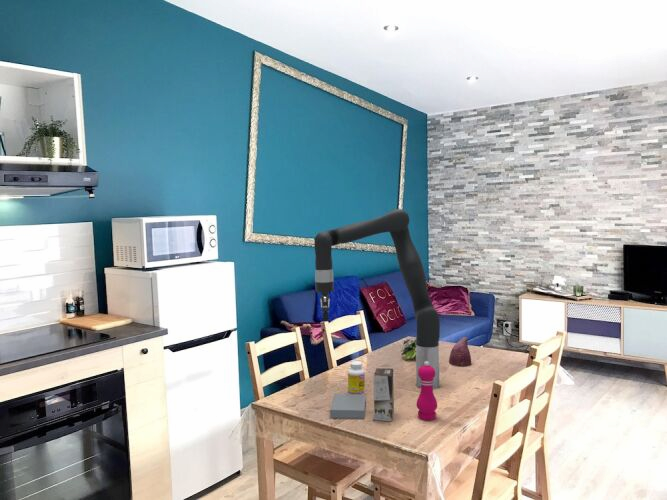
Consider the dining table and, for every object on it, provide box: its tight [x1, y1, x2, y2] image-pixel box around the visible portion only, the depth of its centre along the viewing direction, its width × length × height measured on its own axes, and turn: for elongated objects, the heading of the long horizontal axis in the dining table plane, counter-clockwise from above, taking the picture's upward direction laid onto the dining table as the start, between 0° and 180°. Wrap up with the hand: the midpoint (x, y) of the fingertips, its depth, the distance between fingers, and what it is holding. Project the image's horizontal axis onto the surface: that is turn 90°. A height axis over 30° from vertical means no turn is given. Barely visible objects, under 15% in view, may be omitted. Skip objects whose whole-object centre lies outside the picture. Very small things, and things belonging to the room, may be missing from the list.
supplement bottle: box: [347, 360, 366, 394], centre depth 202 cm, size 7×7×13 cm
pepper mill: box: [416, 361, 438, 421], centre depth 178 cm, size 7×7×20 cm
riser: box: [329, 393, 367, 420], centre depth 187 cm, size 12×16×3 cm
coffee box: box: [373, 367, 395, 422], centre depth 180 cm, size 9×6×16 cm
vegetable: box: [448, 336, 472, 368], centre depth 241 cm, size 10×10×15 cm
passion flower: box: [400, 338, 416, 361], centre depth 251 cm, size 11×11×12 cm
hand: (325, 319), depth 210 cm, fingers open, 8 cm apart
